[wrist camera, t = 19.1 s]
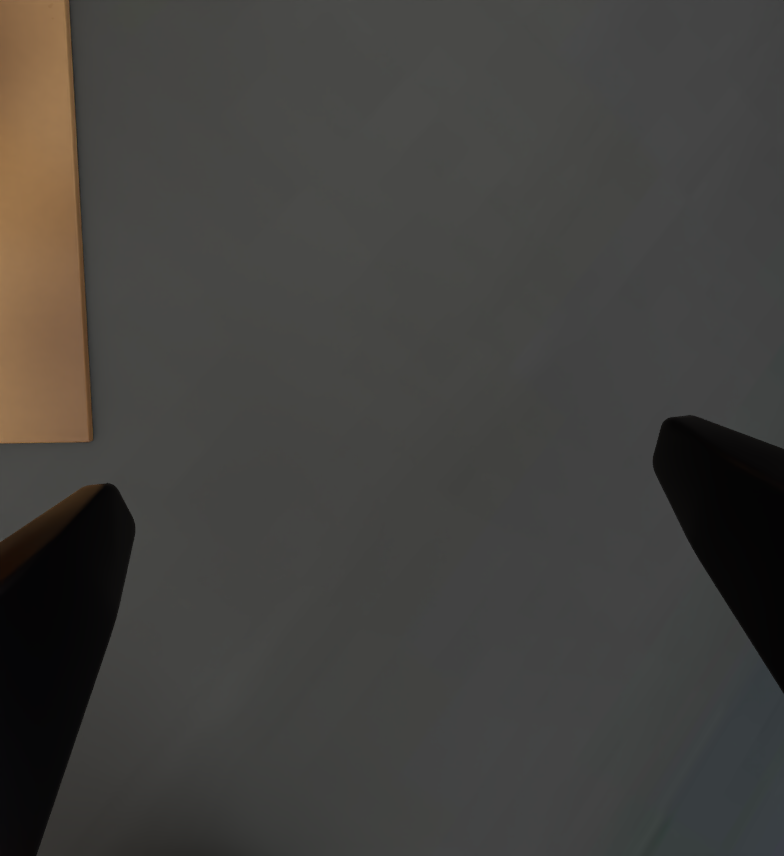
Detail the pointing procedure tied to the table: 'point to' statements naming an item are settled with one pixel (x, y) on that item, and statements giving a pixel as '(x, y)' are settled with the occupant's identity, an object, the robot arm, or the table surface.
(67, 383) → the wooden board
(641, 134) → the table surface
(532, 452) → the table surface
